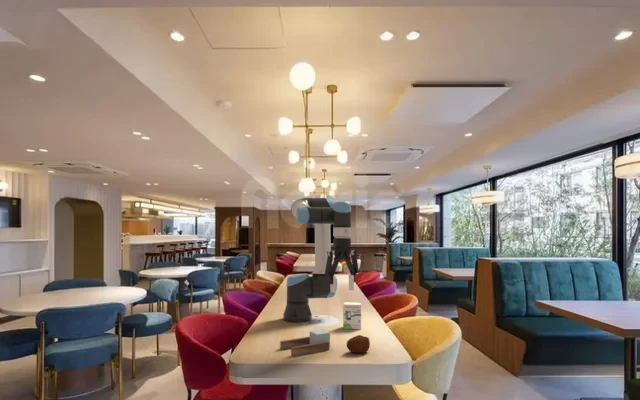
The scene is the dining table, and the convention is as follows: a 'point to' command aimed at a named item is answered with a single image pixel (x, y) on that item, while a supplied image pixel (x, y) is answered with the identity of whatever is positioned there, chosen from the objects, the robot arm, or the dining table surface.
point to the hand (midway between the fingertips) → (342, 291)
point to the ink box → (351, 315)
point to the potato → (358, 344)
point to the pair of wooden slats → (303, 346)
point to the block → (319, 336)
